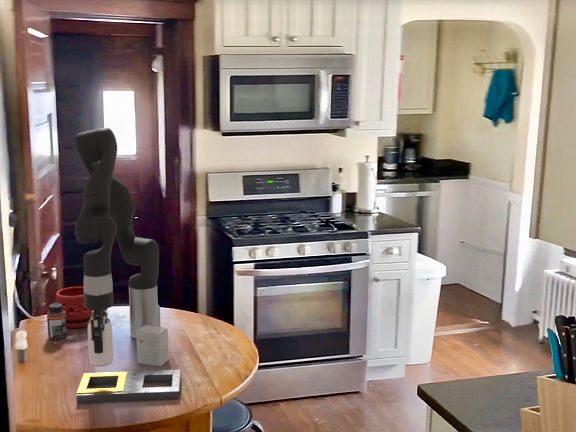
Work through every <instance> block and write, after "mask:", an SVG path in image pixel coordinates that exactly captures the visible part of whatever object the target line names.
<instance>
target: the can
mask: <svg viewBox="0 0 576 432" xmlns="http://www.w3.org/2000/svg"><path fill="white" fill-rule="evenodd" d="M102 327H103V324H101V328H102ZM95 336H99V333H95ZM91 338H92V333H91V320H90V321H89V325H87V344H88V345H87V346H88V347H87V350H88V362H89V364H90V365H91V366H93V367H106V366H109V365H111V364H112V362H113V361H114V345H113V343H114V341H113V324H112V323H111V319H110V318H108V317H107V320H106V321H105V331H103V352H102V353H95V352H94V341H92V339H91Z"/></svg>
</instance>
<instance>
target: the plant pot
mask: <svg viewBox="0 0 576 432" xmlns="http://www.w3.org/2000/svg"><path fill="white" fill-rule="evenodd" d="M55 301H56V303H60V304H62V309H63V310H64V311H65V312H66V326H67V328H70V329H71V328H73V329H76V328H77V329H78V328H80V329H81V328H83V327H86V326H87V327H88V325H89V321H90V320H91V315H92V312H93V310H91V309H90V310H89V309H87V308H86V307H85V305H84V286H70V287H66V288H62V289H58V291H57V292H56V293H55Z"/></svg>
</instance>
